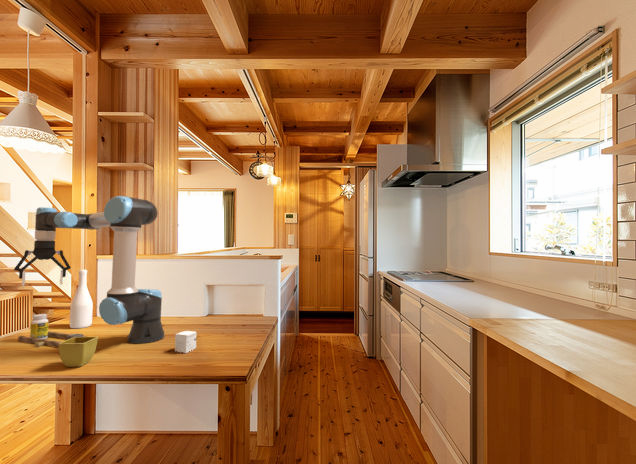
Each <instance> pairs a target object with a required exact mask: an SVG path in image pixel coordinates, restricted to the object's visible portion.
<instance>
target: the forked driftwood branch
mask: <svg viewBox="0 0 636 464" xmlns="http://www.w3.org/2000/svg"><path fill="white" fill-rule="evenodd" d="M73 337H88V336H85V335H84V334H82V333H73V332H72V333H63V332H55V331H50V330H48V337H47V338H55V339H56V338H57V339H62V340H68V339H71V338H73ZM17 338H18V342H22V343H27V344H28V343H29V344H34V347H36V348H39V347H43V346H45V347H46V346H48V347H53V348H59V343H61V342H62V341H60V340H59V341H56V340H51V339H47V338H46V339H39V338H32V337H30V336H25V335H19V336H18V337H17Z"/></svg>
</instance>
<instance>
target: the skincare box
mask: <svg viewBox="0 0 636 464" xmlns="http://www.w3.org/2000/svg"><path fill="white" fill-rule="evenodd" d="M174 340H175V341H174V342H175V343H174V352H176V351H177V352H176V353H182V352H183V354H187V353H190V352H192V351H194V350H193V349H195V348H196V349H197V331H193V330H192V331H191V330H184V331H180V332H178V333H175V339H174ZM196 349H195V350H196ZM191 350H192V351H191ZM189 351H190V352H189Z"/></svg>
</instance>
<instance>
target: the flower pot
mask: <svg viewBox="0 0 636 464" xmlns="http://www.w3.org/2000/svg"><path fill="white" fill-rule="evenodd" d="M98 341H99V336H87V337H73V338H71V339H68V340H67V339H65V340H64V341H60V342H61V343H59V347H58V351H59V358H60V361H61V362H62V364H63V365H64V366H65V367H67V368H68V367H82V366H84V365H86V364H88V363H90V361H91V360H92V358H93V356H94V354H95V352H96V350H97V349H96V348H97V345H98Z"/></svg>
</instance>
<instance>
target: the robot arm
mask: <svg viewBox="0 0 636 464" xmlns="http://www.w3.org/2000/svg"><path fill="white" fill-rule="evenodd" d="M35 212H36V213H35V222H34V223H35V227H34V228H35V229H34V230H35V231H34V239H35V240H34V245H33V250H29V249H26V250H25V251H24V255H23V256H22V258H21V259H20V260H19V261H18V263H17V264H16V266H15V267H14V268H13V270H14V271H17V272H19V273H18V274H19V275H18V278H19V280H21V286H22V287H24V286H25V284H26V271H25V270H26V269H27V268H28V267H29V266H30V265H32V264H33V263H34V262H35V261H36V260H42V261H43V260H47V261H48V260H50V259H51V260H52V261H53V262H54V263H55V264H56V265H57V266H58V267H59V268H60V269H61V270H60V279H59V280H60V281H59V285H63V278H66V274H67V270H70V269H71V266H70V264H69V262H68V261H67V259H66V257H65V255H64V251H63V250H62V249H60V250H56V241H55V240H56V235H57V233H56V231H57V229H74V230H75V229H77V230H80V229H81V230H91V231H92V230H94V231H95V230H99V229H101V228H106V227H107V228H108V227H109V228H110V229H111V230H112V231H113V247H112V249H113V251H112V252H113V253H112V269H111V270H112V271H111V272H112V273H111V285H110V286H111V287H110V289H109V290H107V292H106V297H105V298H104V299H102V300H101V302H100V303H99V305H98V310H99V315H100V318H101V320H102V319H103V322H105V324H108V325H112V326H115V325H123V324H125V323H129V322H132V324H131V327H130V331H129V333H128V336H127V342H129V343H131V344H147V343H153V342H154V343H155V342H158V341H160V340H162V339H164V338H165V331H164V328H163V324H162V301H163V300H162V299H163V298H162V297H163V296H162V291H161V290H159V289H150V288H148V289H147V288H136V287H135V286H136V267H137V246H138V244H137V243H138V242H137V241H138V232H140V230H141V229H142V226H145V225H146V226H148V225H150V224H152V223H153V222H155V221H156V220H157V218H158V214H159V212H158V209H157V206H156V205H155V204H154V203H153V202H152V201H149V200H146V199H141V198H135V197H131V196H123V195H116V196H113V197H112V198H111V197H110V199H109V200H108V201H107V202H106V203H105V205H104V209H103V211H101V212H94V213H79V212H78V213H75V212H71V211H58V210H57V208H54V207H43V206H42V207H37V208H36V211H35ZM31 254H33V256H34V257H33V258H31V260H29V261H28V262H27V263H26V264H24V266H22V264H23V263H24V262H25V260H26V259H27V258H28V256H30V255H31ZM56 254H57V255H58V256H60V258H61V260H62V261H63V263H64V265H65V266H64V265H63V264H62V263H61V262H59V261H58V259H56V257H55V255H56ZM21 266H22V267H21ZM20 267H21V268H20Z"/></svg>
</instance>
